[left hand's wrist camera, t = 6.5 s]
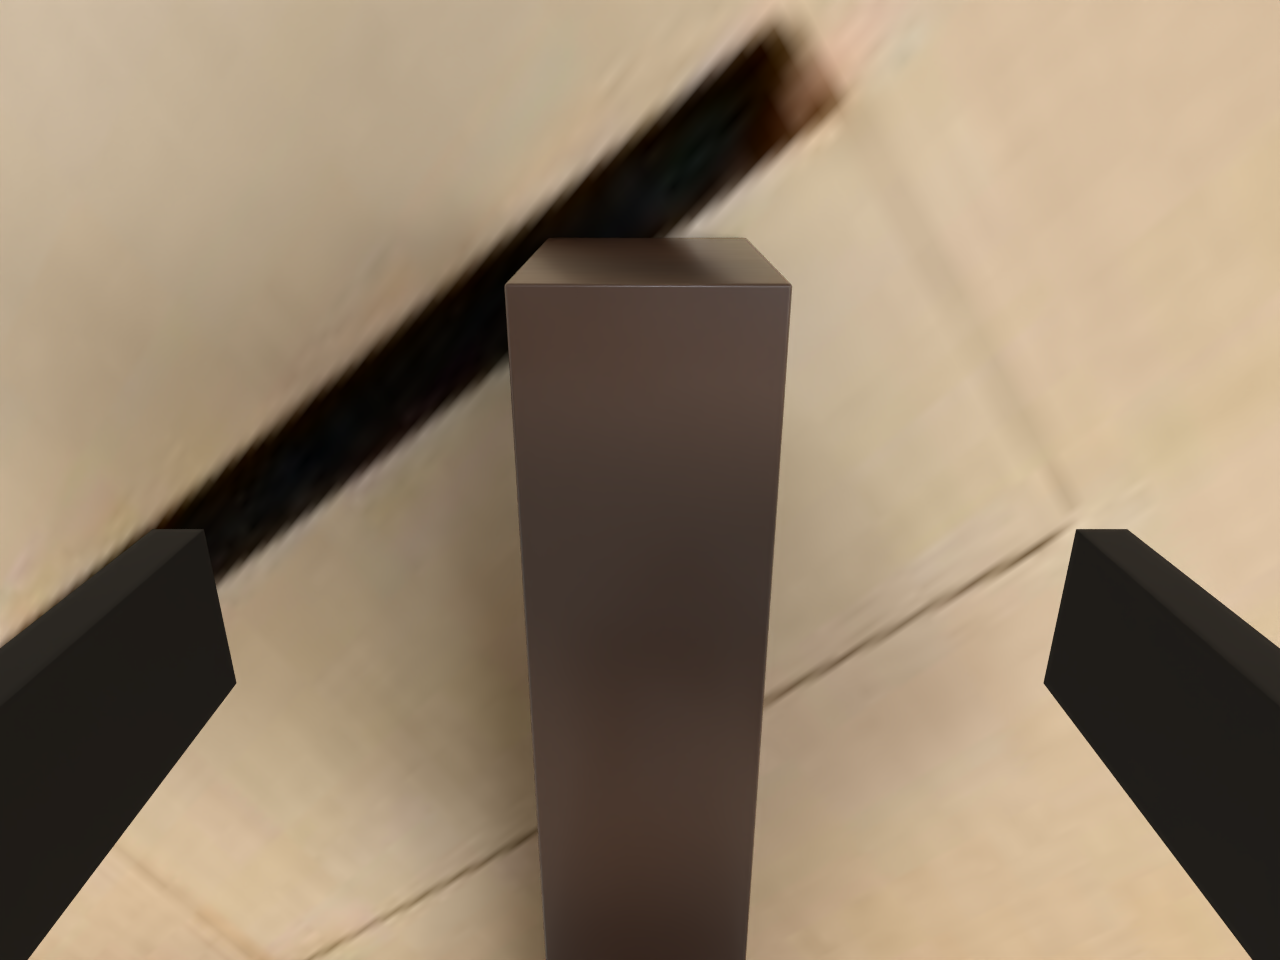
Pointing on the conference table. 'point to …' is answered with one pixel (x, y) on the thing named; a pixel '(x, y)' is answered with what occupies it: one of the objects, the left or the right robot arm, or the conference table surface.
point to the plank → (647, 580)
